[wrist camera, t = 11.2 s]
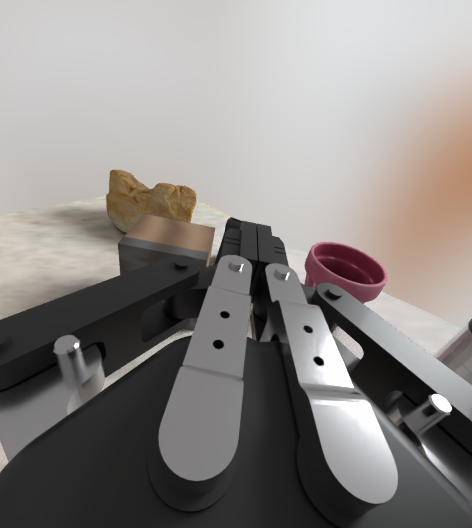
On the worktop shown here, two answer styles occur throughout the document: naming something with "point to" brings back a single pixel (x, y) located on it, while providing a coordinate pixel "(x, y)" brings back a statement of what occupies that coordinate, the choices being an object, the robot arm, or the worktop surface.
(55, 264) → the worktop surface
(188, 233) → the housing
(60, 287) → the worktop surface
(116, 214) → the rough brown rock
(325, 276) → the plant pot
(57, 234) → the worktop surface
